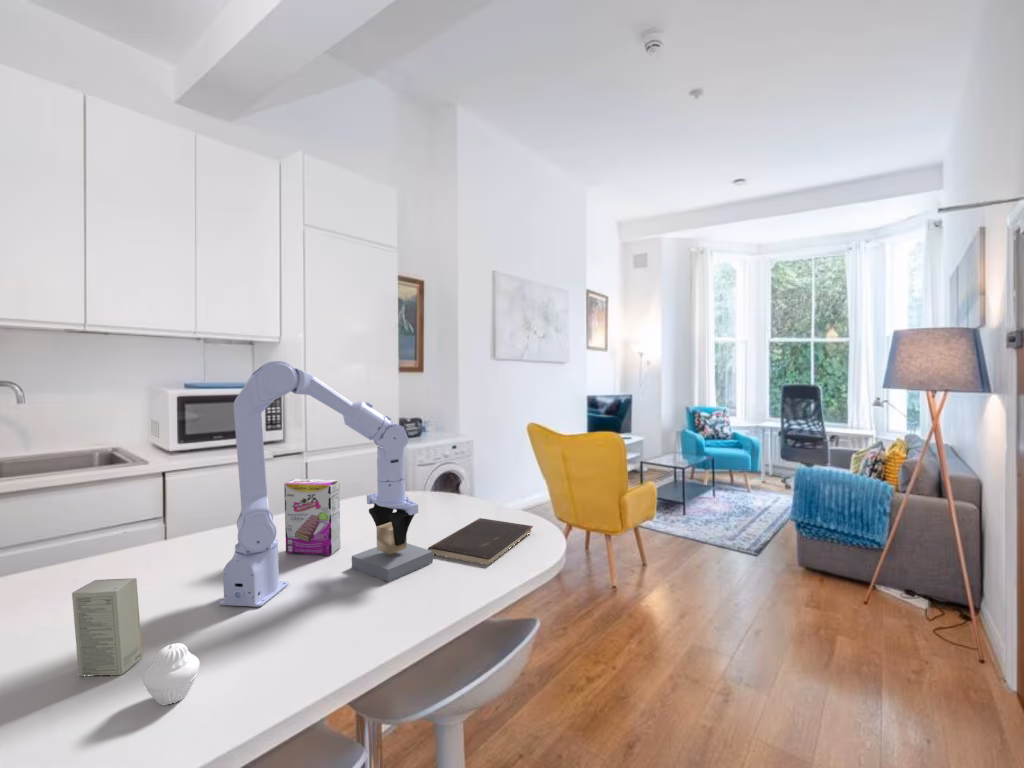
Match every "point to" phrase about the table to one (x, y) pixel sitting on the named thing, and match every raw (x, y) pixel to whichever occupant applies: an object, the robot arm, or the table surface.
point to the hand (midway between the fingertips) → (392, 541)
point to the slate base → (392, 562)
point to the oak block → (388, 539)
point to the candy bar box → (312, 516)
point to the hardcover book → (481, 540)
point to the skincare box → (107, 626)
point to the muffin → (171, 674)
